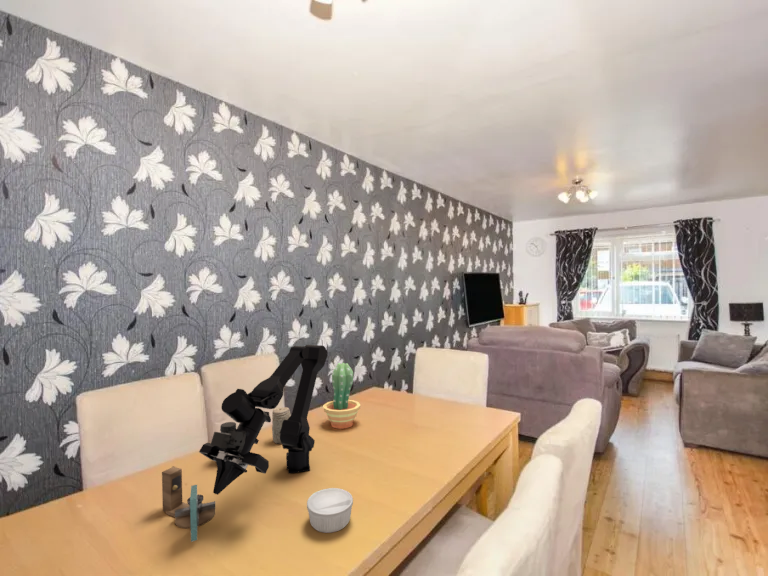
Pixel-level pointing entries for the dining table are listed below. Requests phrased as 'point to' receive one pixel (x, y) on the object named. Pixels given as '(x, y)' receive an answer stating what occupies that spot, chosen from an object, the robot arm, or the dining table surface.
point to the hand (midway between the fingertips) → (215, 493)
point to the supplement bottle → (227, 427)
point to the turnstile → (194, 510)
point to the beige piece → (279, 422)
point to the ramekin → (330, 509)
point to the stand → (179, 499)
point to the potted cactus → (342, 398)
